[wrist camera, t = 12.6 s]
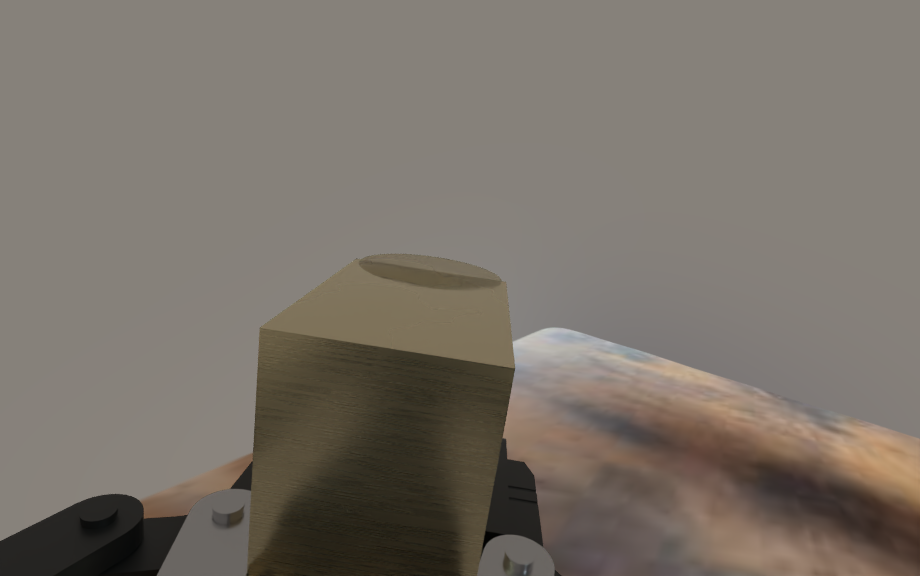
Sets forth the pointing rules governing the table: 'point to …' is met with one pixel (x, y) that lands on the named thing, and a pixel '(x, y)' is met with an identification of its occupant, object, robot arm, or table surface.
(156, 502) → the table surface
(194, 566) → the robot arm
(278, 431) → the brown tall block
